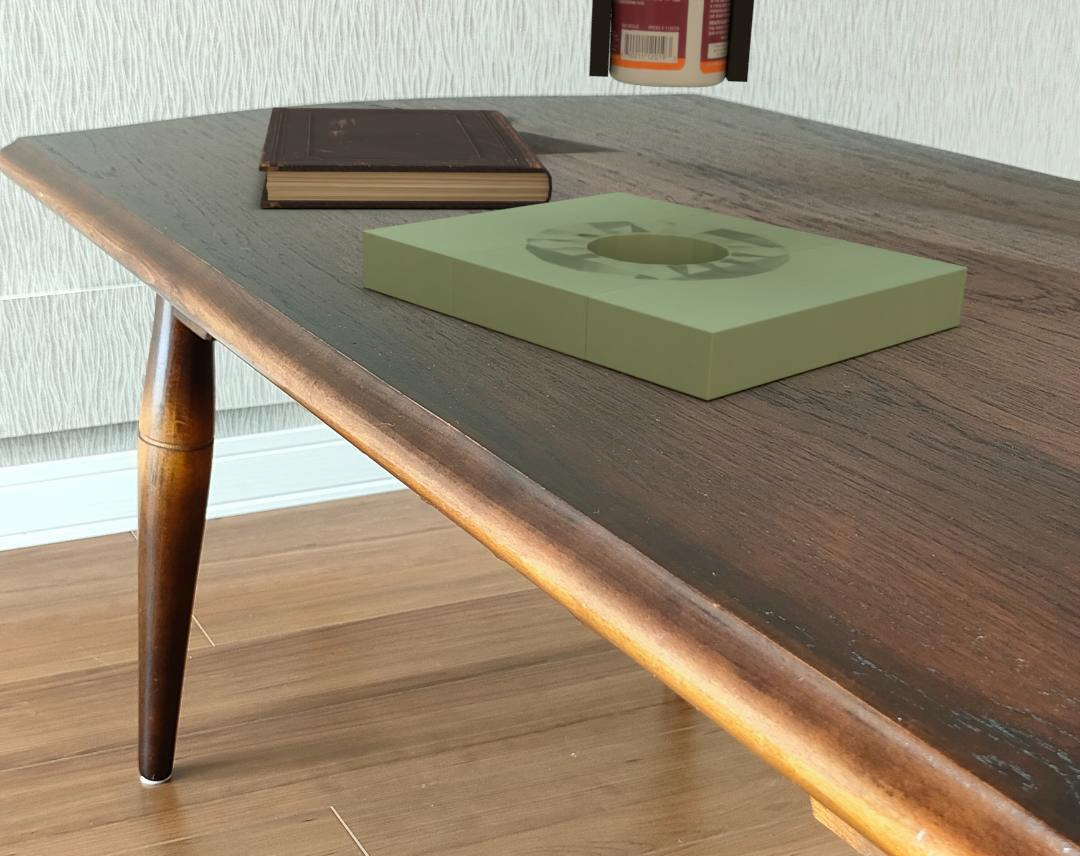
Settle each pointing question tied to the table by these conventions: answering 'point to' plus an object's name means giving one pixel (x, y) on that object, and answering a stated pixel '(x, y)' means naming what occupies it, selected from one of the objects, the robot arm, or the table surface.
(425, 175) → the hardcover book
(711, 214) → the socket pad
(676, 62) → the pill bottle
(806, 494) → the table surface
